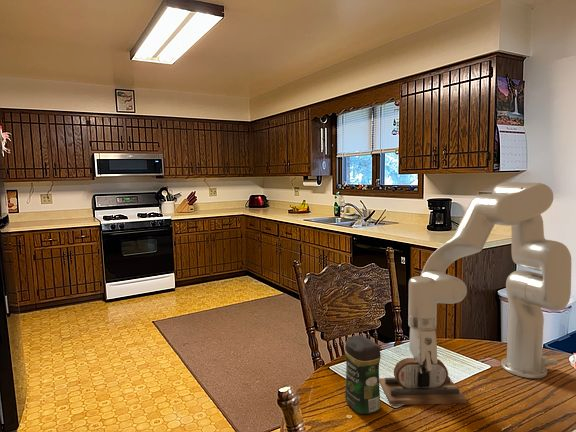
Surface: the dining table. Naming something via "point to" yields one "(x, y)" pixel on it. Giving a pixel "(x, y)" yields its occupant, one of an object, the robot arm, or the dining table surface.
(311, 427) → the dining table surface
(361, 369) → the coffee jar
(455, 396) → the holder
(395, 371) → the tin
